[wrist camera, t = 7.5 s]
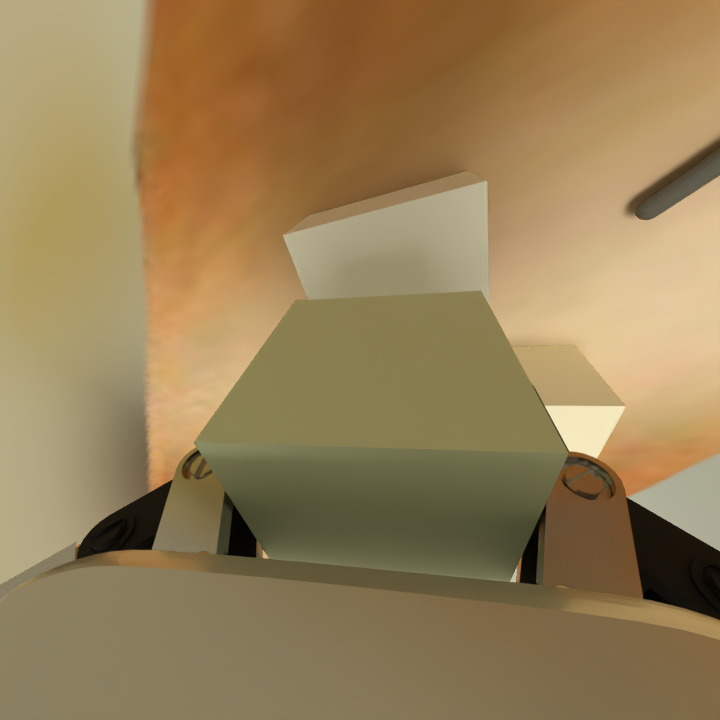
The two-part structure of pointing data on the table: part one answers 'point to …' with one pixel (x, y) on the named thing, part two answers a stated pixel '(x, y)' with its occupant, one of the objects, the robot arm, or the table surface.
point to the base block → (397, 243)
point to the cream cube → (572, 395)
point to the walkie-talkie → (681, 187)
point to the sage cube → (388, 438)
